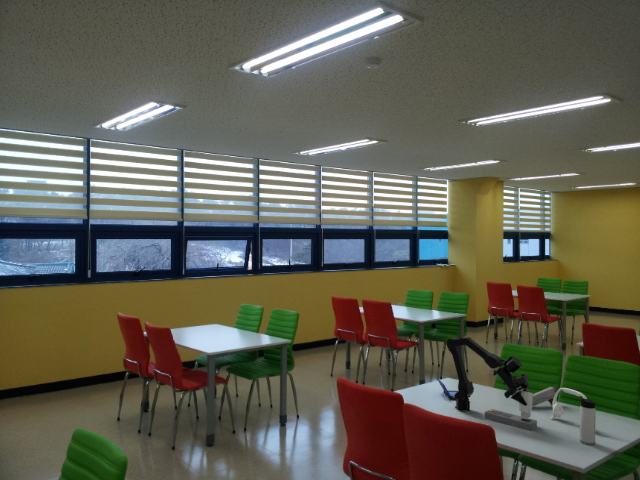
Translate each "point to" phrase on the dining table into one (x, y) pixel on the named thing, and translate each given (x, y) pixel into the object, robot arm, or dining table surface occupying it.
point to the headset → (558, 407)
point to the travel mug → (587, 421)
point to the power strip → (511, 419)
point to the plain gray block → (527, 409)
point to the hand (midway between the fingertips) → (528, 404)
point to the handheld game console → (448, 393)
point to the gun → (544, 396)
